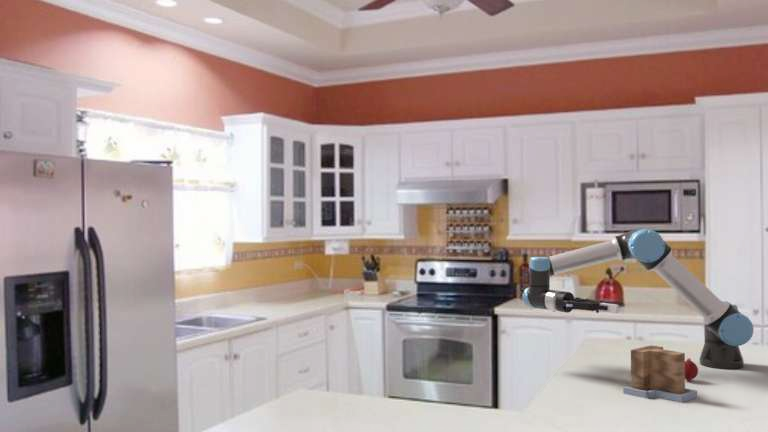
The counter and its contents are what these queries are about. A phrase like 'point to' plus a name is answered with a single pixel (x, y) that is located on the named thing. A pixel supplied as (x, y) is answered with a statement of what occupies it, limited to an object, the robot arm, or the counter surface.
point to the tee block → (658, 369)
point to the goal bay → (661, 394)
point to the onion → (690, 370)
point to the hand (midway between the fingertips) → (617, 309)
